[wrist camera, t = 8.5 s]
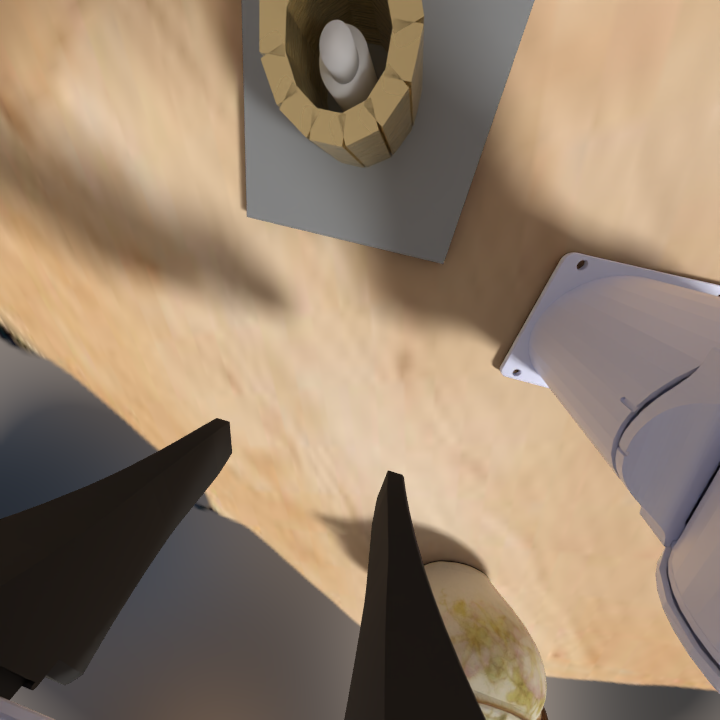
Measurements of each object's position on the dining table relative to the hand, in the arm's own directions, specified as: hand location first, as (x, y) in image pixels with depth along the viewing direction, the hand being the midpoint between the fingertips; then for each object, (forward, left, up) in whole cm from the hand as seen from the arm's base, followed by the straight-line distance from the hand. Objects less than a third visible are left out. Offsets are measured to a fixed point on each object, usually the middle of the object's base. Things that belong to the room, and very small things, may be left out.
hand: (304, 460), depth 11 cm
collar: (+2, -14, -9) cm, 17 cm away
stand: (+2, -14, -10) cm, 17 cm away
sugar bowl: (-18, +27, -10) cm, 34 cm away
